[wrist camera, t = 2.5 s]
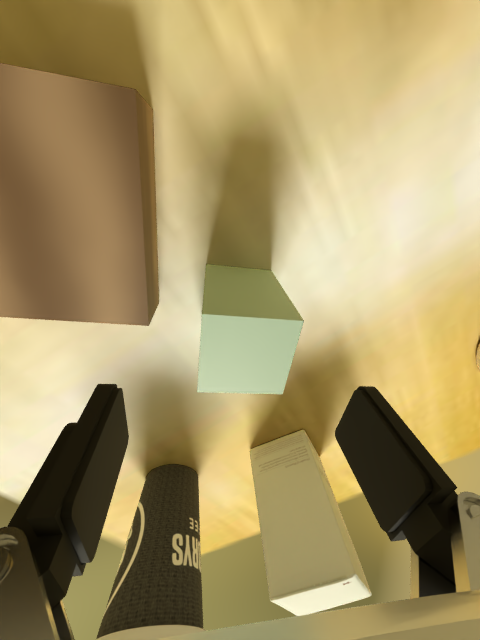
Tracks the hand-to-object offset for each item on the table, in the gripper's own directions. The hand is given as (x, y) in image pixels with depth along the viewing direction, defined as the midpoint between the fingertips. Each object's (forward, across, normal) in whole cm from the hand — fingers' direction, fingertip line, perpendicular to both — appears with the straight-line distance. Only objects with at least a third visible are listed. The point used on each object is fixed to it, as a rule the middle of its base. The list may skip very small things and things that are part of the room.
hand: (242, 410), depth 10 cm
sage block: (+11, -1, 0) cm, 11 cm away
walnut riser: (+12, +11, -5) cm, 17 cm away
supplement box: (+11, -10, +21) cm, 26 cm away
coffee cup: (+12, +4, +26) cm, 29 cm away
